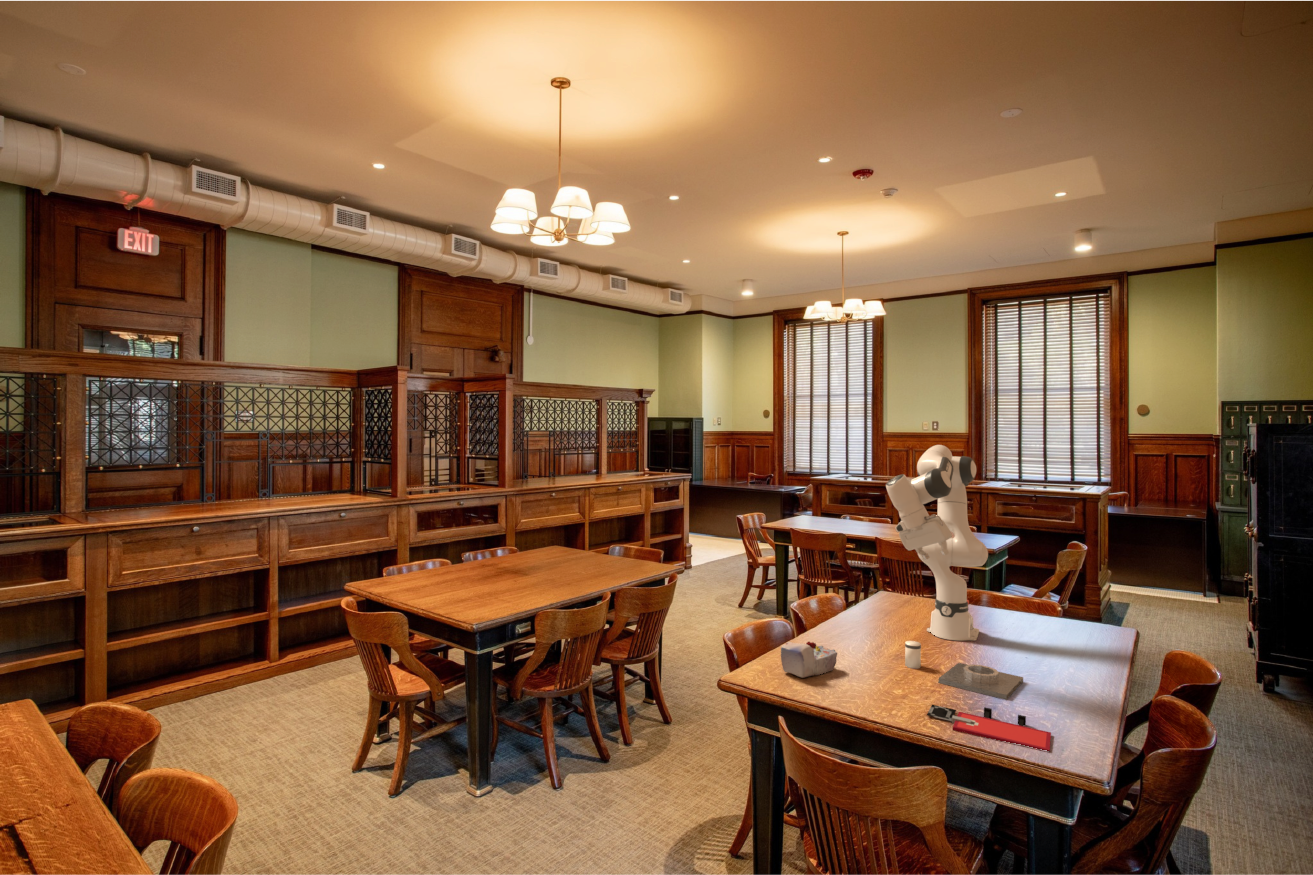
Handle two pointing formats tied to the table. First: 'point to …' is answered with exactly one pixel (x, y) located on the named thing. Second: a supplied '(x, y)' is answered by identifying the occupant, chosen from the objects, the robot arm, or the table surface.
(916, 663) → the banded peg cylinder
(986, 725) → the red board with handle
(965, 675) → the ring mount
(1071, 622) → the table surface
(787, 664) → the cell model
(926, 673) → the table surface
